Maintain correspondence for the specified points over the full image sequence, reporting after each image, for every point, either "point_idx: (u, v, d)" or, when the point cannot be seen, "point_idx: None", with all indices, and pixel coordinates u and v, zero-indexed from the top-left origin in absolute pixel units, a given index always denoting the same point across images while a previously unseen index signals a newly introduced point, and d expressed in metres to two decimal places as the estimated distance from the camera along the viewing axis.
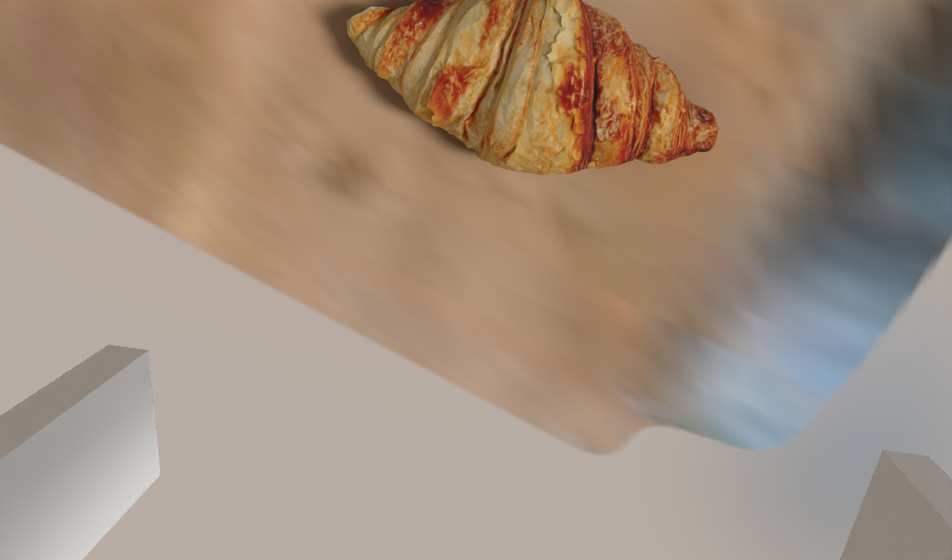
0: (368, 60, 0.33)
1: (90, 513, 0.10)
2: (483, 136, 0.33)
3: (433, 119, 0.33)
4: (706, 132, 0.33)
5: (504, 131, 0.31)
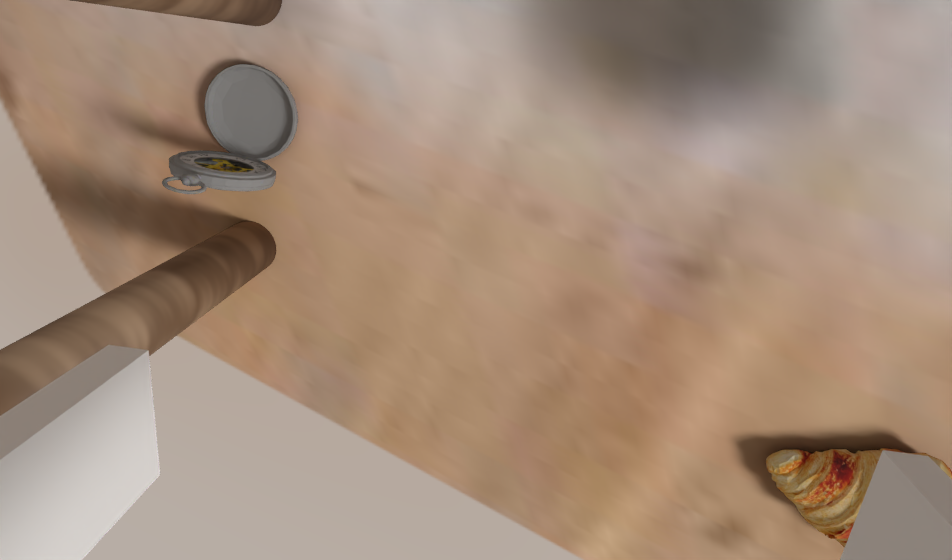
0: (785, 491, 0.47)
1: (90, 513, 0.10)
2: None
3: (831, 538, 0.47)
4: None
5: None
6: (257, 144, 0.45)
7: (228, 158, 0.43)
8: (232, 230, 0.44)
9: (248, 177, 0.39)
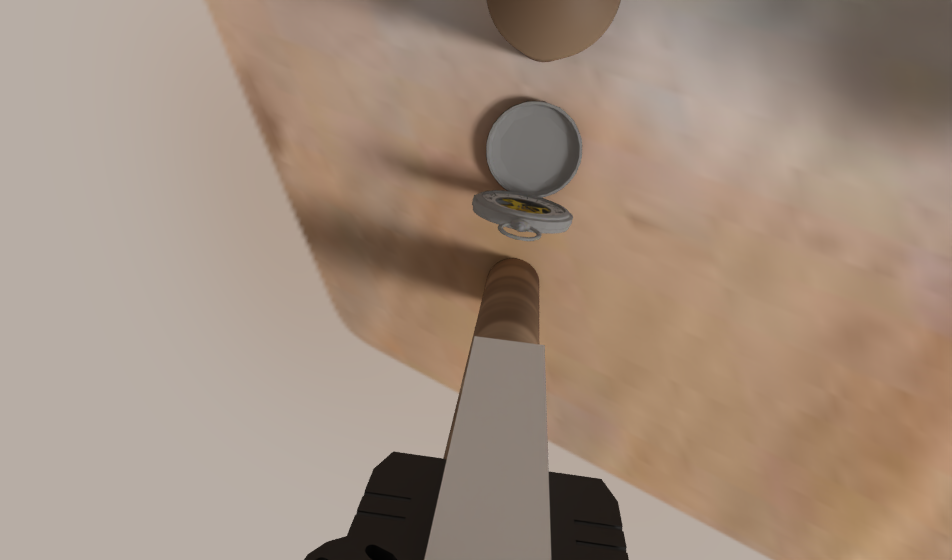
0: None
1: None
2: None
3: None
4: None
5: None
6: (532, 180, 0.44)
7: (514, 197, 0.42)
8: (512, 270, 0.43)
9: (561, 218, 0.38)
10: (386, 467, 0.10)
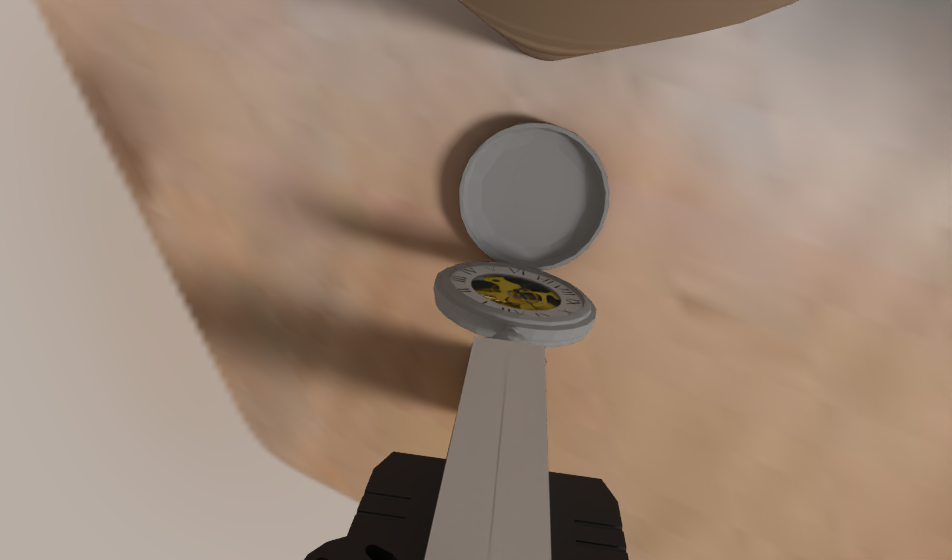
0: None
1: None
2: None
3: None
4: None
5: None
6: (531, 243, 0.28)
7: (503, 273, 0.27)
8: None
9: (579, 320, 0.23)
10: (386, 467, 0.10)
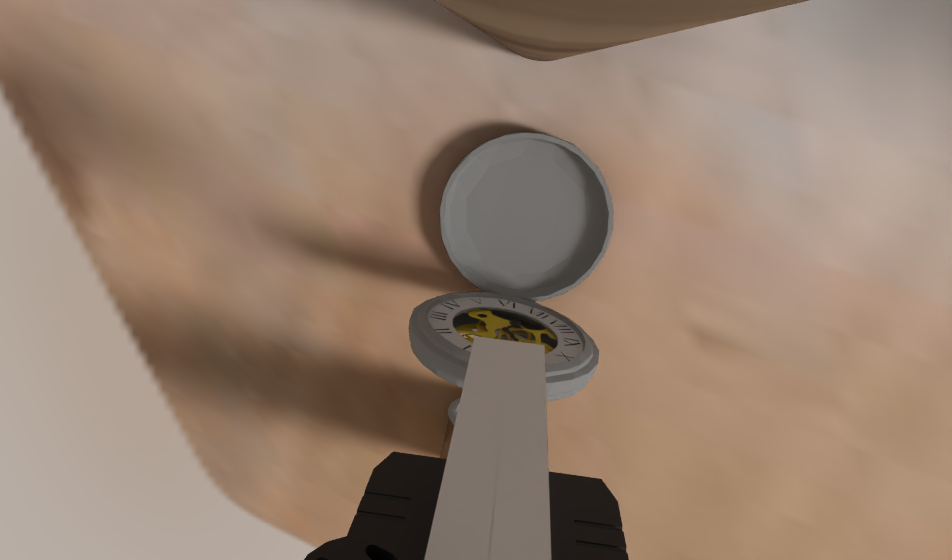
0: None
1: None
2: None
3: None
4: None
5: None
6: (523, 269, 0.25)
7: (490, 306, 0.23)
8: None
9: (579, 368, 0.20)
10: (386, 466, 0.10)
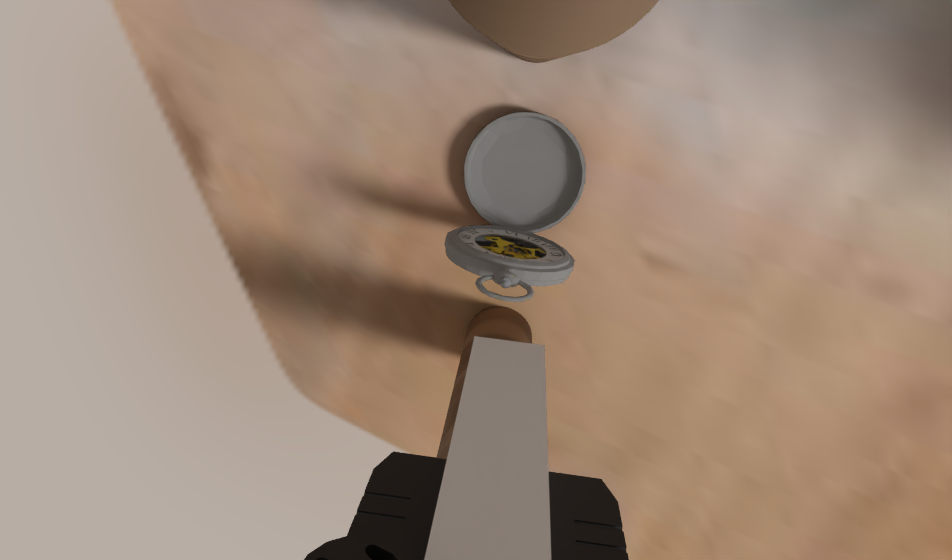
0: None
1: None
2: None
3: None
4: None
5: None
6: (523, 211, 0.35)
7: (500, 234, 0.33)
8: (497, 325, 0.34)
9: (560, 266, 0.29)
10: (385, 467, 0.10)
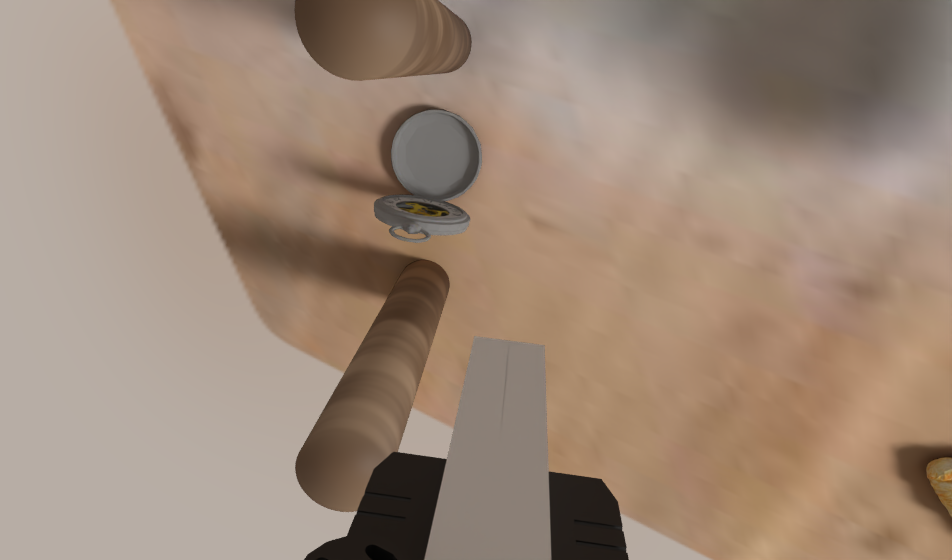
0: (947, 497, 0.49)
1: None
2: None
3: None
4: None
5: None
6: (438, 185, 0.46)
7: (418, 201, 0.44)
8: (418, 271, 0.45)
9: (455, 221, 0.40)
10: (385, 467, 0.10)
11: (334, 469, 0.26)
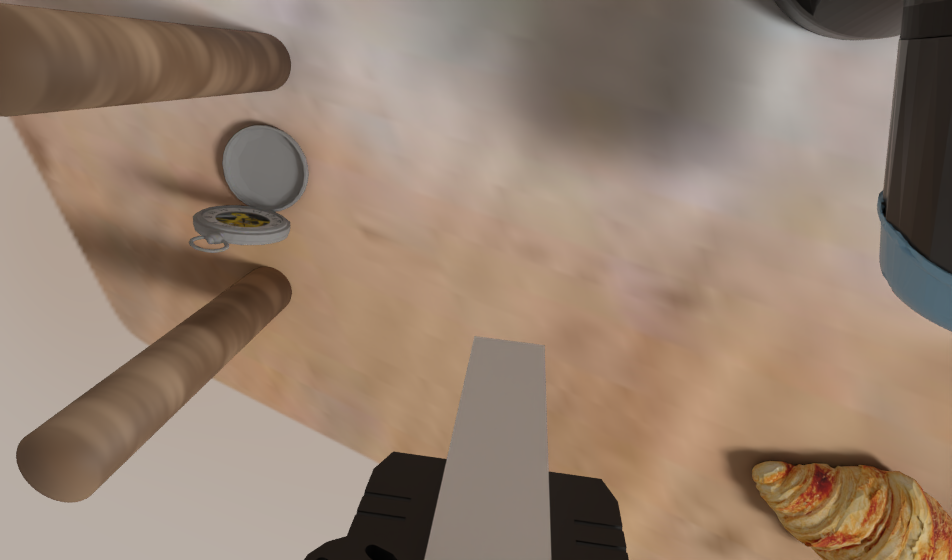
0: (768, 499, 0.50)
1: None
2: None
3: None
4: None
5: None
6: (272, 196, 0.48)
7: (246, 211, 0.46)
8: (251, 277, 0.48)
9: (266, 232, 0.43)
10: (386, 467, 0.10)
11: (50, 463, 0.28)
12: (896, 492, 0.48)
